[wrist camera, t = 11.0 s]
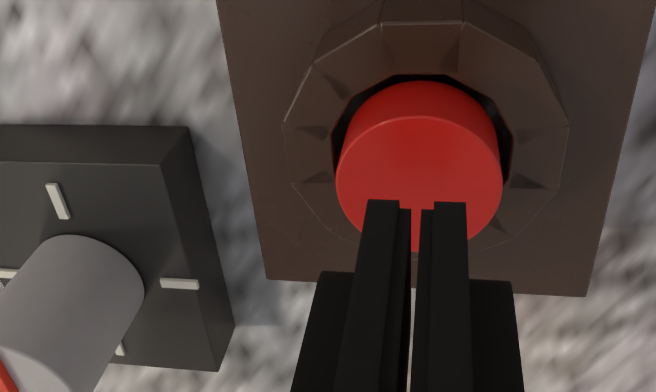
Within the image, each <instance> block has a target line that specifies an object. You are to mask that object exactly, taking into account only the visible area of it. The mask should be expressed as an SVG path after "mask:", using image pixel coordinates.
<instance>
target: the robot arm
mask: <svg viewBox="0 0 656 392" xmlns="http://www.w3.org/2000/svg"><path fill="white" fill-rule="evenodd" d="M410 329H411V209H407V208H400V201H399V200H386V199H368V201H367V206H366V212H365V217H364V222H363V228H362V233H361V239H360V244H359V250H358V255H357V261H356V266H355V272H337V271H322V272H321V273H320V276H319V279H318V282H317V286H316V290H315V294H314V298H313V302H312V306H311V310H310V314H309V318H308V322H307V326H306V330H305V334H304V338H303V342H302V346H301V350H300V354H299V358H298V362H297V366H296V370H295V374H294V378H293V382H292V386H291V390H290V392H406V390H407V375H408V360H409V345H410ZM410 392H525V391H524V383H523V374H522V366H521V357H520V349H519V340H518V332H517V323H516V315H515V306H514V298H513V290H512V284H511V282H510V281H501V280H483V279H469V266H468V240H467V213H466V202H446V201H434V209H421V220H420V236H419V253H418V269H417V285H416V301H415V317H414V334H413V350H412V366H411V383H410Z"/></svg>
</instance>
